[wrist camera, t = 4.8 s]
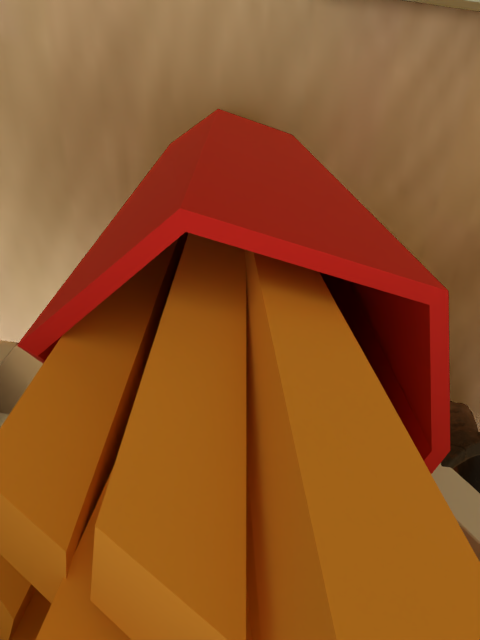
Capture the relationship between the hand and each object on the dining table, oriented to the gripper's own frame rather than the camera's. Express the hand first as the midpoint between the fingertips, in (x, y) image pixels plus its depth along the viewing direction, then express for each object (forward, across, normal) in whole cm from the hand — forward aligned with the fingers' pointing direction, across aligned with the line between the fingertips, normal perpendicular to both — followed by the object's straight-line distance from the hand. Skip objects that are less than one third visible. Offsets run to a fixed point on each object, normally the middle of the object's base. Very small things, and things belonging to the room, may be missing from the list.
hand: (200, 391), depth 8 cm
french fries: (+7, 0, 0) cm, 7 cm away
